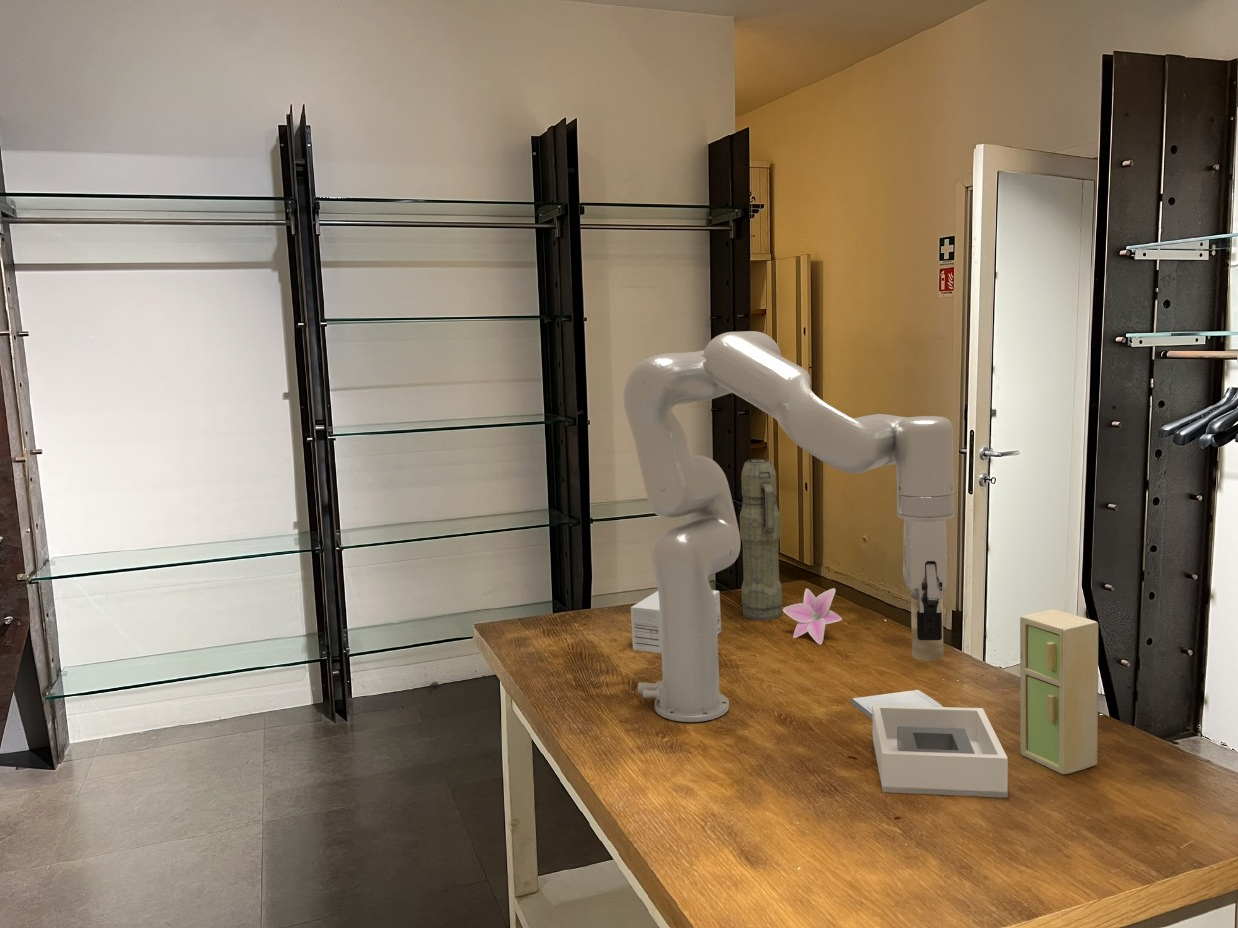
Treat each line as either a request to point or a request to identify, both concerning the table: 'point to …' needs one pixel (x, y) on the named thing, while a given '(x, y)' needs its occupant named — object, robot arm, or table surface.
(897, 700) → the hard drive
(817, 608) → the lily
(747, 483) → the thermos
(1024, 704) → the toy refrigerator
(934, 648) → the peg
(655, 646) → the supplement box
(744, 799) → the table surface
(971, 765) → the walled box
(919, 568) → the robot arm
